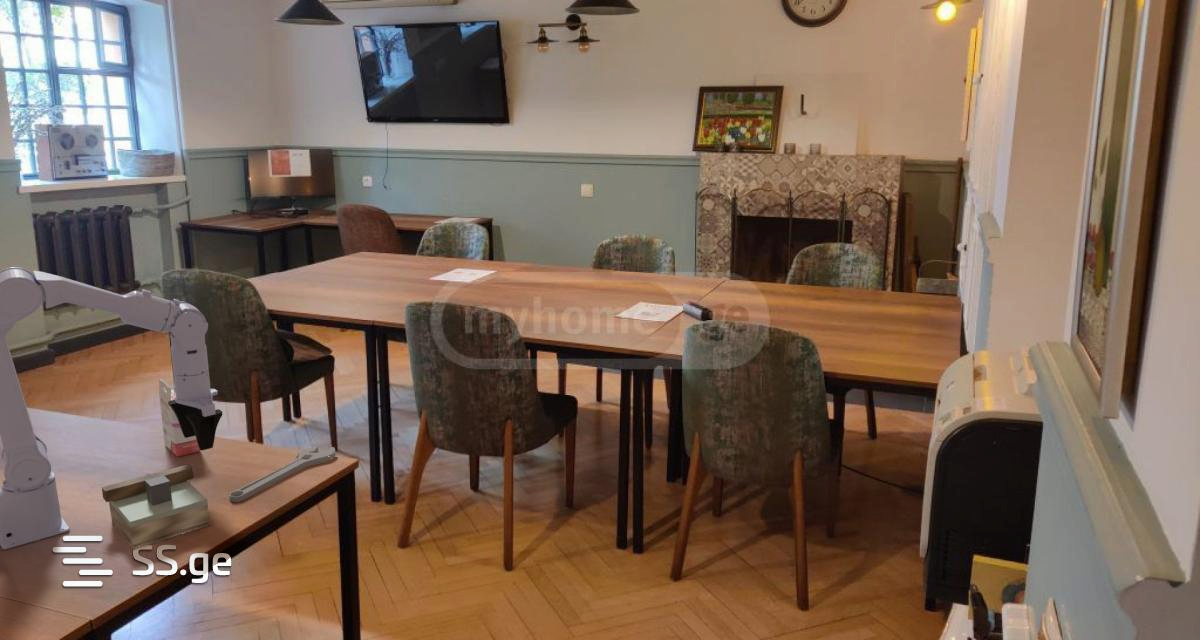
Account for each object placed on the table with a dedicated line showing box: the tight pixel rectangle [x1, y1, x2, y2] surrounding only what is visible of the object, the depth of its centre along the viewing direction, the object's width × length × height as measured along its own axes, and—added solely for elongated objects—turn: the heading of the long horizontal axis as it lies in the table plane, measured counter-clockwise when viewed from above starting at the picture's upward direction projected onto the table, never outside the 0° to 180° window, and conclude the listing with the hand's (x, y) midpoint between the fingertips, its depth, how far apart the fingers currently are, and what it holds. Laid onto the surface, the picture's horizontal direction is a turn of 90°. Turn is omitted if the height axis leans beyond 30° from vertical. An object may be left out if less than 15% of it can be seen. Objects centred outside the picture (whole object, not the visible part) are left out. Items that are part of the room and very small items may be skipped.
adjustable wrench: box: [228, 445, 336, 503], centre depth 168 cm, size 25×6×2 cm, turn 150°
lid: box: [108, 475, 209, 527], centre depth 146 cm, size 12×12×6 cm
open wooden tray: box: [108, 502, 211, 550], centre depth 148 cm, size 12×12×4 cm
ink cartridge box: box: [158, 378, 201, 457], centre depth 177 cm, size 9×5×15 cm, turn 42°
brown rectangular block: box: [101, 463, 195, 503], centre depth 149 cm, size 14×2×2 cm, turn 133°
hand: (198, 442), depth 157 cm, fingers open, 7 cm apart
